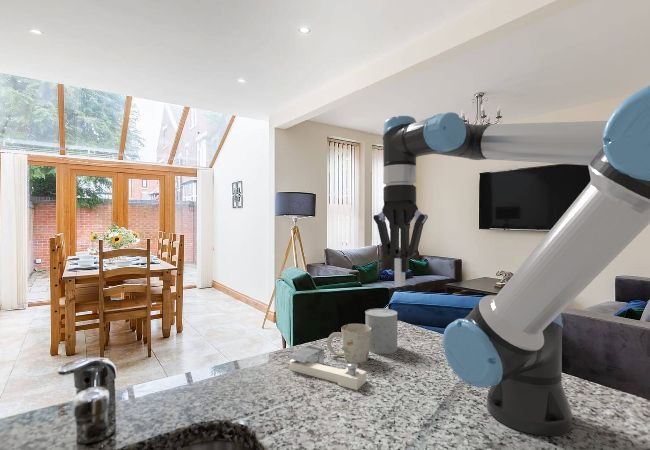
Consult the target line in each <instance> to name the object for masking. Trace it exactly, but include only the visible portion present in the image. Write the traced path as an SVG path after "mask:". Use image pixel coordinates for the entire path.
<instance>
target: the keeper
mask: <svg viewBox="0 0 650 450" xmlns="http://www.w3.org/2000/svg"><path fill="white" fill-rule="evenodd" d="M288 359H290V360H291V359H293V360H296V361H300V362H303V363H304V362H306V361H309V362H314V363H318V364H322V365H325V348H322V347H320V346H319V347H318V346H314V345H311V344H309V345H306V346H304V347H302V348H300V349H298V350H296V351H293V352H291V353H289V354H288Z"/></svg>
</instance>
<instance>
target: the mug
mask: <svg viewBox="0 0 650 450" xmlns="http://www.w3.org/2000/svg"><path fill="white" fill-rule="evenodd" d="M340 330H341V332H339V331H337V332H335V331H334V332H331V334H329V336H328V338H327V339H326V340H327V341H326V346H327V349H328V351H329V352H330V353H331V354H332V355H334V356H336V357H344V360H345V361H346V362H347V363H349V362H355V363H357V364H361V363H366V362H368V361H369V354H370V352H369V347H370V338H371V327H370V326H368V325H366V324H363V323H348V324H345V325H343V326H341V329H340ZM335 338H342V339H341V340H342V347H343V352H336V351H335V350H334V348H333V346H332V342H333V340H334V339H335Z"/></svg>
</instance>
